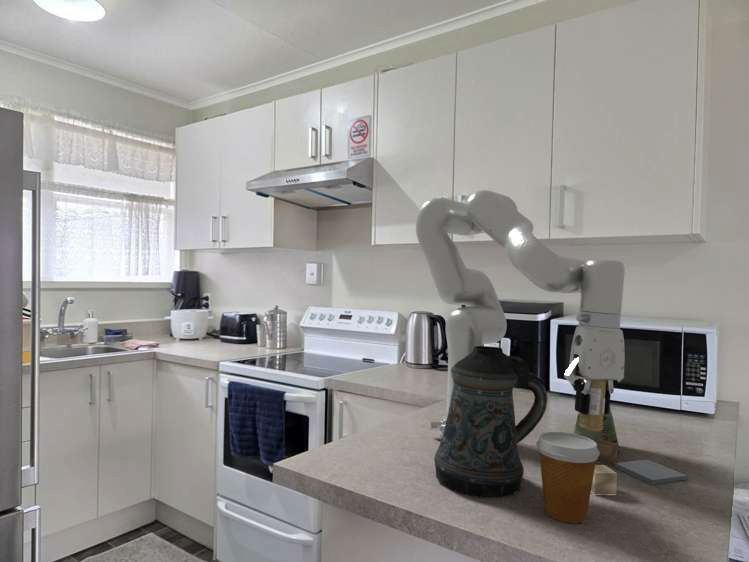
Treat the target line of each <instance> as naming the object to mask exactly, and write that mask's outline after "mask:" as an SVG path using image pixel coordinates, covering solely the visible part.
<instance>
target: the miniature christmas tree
mask: <svg viewBox="0 0 749 562" xmlns="http://www.w3.org/2000/svg"><path fill="white" fill-rule="evenodd" d="M579 421H580V412H578V414H577V419H576V421H575V426H574V430H573V434H576V435H580V436H584V437H587V438H589V439H591V440H593V441H594V440H597V439H602V440H605V441H609V442H613V443H617V453H619V451H620V445H619V440H618V437H617V431H616V426H615V422H614V417H613V413H612V409H611V407H610V408H609V413H608V414H605V413H604V415H603V430H601V431H591V430H586V429H584V428H581V427H580V426H579Z"/></svg>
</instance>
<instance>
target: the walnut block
mask: <svg viewBox="0 0 749 562" xmlns="http://www.w3.org/2000/svg"><path fill="white" fill-rule="evenodd" d="M594 441H595V442H596V444H597V449H598V450H599V452H600V454H599V456H598V459H597V460H596V463H597V462H599V463H598V464H601V463H602V464H601V465H604V464H605V466H607V465H608V466H612V465H614V464H615V462H616V463H618V452H617V443H613V442H609V441H605V440H602V439H597V440H594ZM613 463H614V464H613ZM611 464H612V465H611ZM608 466H607V467H608Z"/></svg>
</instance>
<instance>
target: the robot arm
mask: <svg viewBox="0 0 749 562" xmlns="http://www.w3.org/2000/svg"><path fill="white" fill-rule="evenodd" d="M415 221H416V222H415V232H416V237H417V240H418V244H419V246H420V247H421V250H422V252H423V255H424V257H425V259H426V261H427V265H428V268H429V271H430V273H431V276H432V279H433V282H434V285H435V288H436V290H437V293H438V295H439V297H440V299H441V300H442V302H444V304H445V303H446V304H448V305H455V306H460V305H461V307H458V308H456V309H454V310H453V311H451V312H450V314H449V315H448V317H447V319H446V322H445V326H444V327H445V337H446V342H447V344H446V345H447V358H448V359H447V386H446V387H447V388H446V389H447V391H446V392H447V393H446V413H445V414H444V415H442V418H440V419H439V420H428V421H427V428H428V430H437V431H438V432H439V433H438V434H439V435H440V436H441V437H442V436H443V433H444V430H445V425H446V421H447V416H448V411H449V406H450V400H451V395H452V390H453V384H454V382H453V379H452V374H451V369H452V367H453V366H454V365H455V364H456V363H457V362H458V361H460V360H462V359H463V358H465V357H466V356H468V355H469V354H470V353H472V352H473V349H474V347H475V346H485V345H491V344H495V343H498V342H500V341H501V340H502V339H503V338H504V337H505V335H506V332H507V327H508V324H507V318H506V315H505V312H504V310H503V307H502V305H501V303H500V302H501V301H500V300H499V297H498V295H497V293H496V289H495V288H494V286H493V283H492V281H491V279H490V278H489V277H488V275H487V274H485V273H484V272H483V271H480V270H479V269H475V268H468V267H467V266H466V265H465V263H464V261H463V259H462V256H461V254H460V251H459V249H458V247H457V245H456V243H455V242H454V241H453V240H452V239H451V237H450V235H449V234H453V235H457V236H458V235H459V236H471V235H479V234H483V233H485V234H486V235H487V236H488V237H489V238H490V239H492V240H493V241H495V243H497V244H498V246H499V247H501V248H502V249H503V250H504V252H505V254H506V256H507V258H508V259H509V260H510V262H511V264H512V265H513V266H514V267H515V268H516V270H517V271H519V272H520V274H522V275H523V276H524V277H526V278H527V279H528V280H529V281H530V282H532V284H534V285H535V286H536V287H537V288H539V289H540V290H542V291H544V292H548V293H561V294H580V303H579V313H578V314H577V315H576V318H575V319H576V321H577V322H578V326H576V327H575V330H574V334H573V338H572V341H571V342H572V343H571V347H570V348H571V349H570V356H569V365H568V368H567V369H566V370H565V373H564V375H563V378H564V379H566V380H567V381H568V383H569V384H570V385H571V386H572V389H573V391H574V392H575V399H574V400H575V402H574V411H576V412H578V413H579V412H580V413H582V414H585V415H588V414H589V406H590V395H589V394H587V393H588V391H589V387H590V383H591V380H606V389H605V408H604V413H605V414H608V413H609V408H610V409H611V395H612V394H614V390H615V388H616V387H617V385H618V384H619V383H620V382H622V380H623V379H624V378H625V361H626V360H625V359H626V358H625V354H626V353H625V339H624V332H623V330H622V329H621V319H622V318H621V316H622V306H623V305H622V304H623V293H624V284H625V283H624V281H625V269H626V268H625V265H624V263H623V262H622V261H620V260H615V259H603V258H592V259H588V260H585V259H580V258H574V257H568V256H563V255H558V254H556V253H555V252H554V251H552V250H551V249H550V248H549V247H547V246H546V245H545V244H544V243H543V242H541V240H539V239H538V238H537V237H536V236H535V235H534V233H533V232H534V224H533V222H532V221H531V220H530V219H529V218H528V217H526V216H525V215H524V214H522V213H521V212H520V211H519V209H518V206H517V203H515V201H514V200H513V199H512V198H511V197H509V196H507V195H504V194H501V193H499V192H494V191H492V190H486V189H485V190H477V191H476V192H474V193H472V194H471V195H470V196H469V197H468V199H467V201H466V203H465V202H460V201H458V200H453V199H449V198H443V197H436V198H431V199H429V200H427V201H425V202H424V203H423V205H422V206H421V207H420V209H419V210H418V214H417V216H416V220H415ZM583 376H584V377H583ZM583 380H584V383H583Z"/></svg>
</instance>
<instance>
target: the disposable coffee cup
mask: <svg viewBox="0 0 749 562" xmlns="http://www.w3.org/2000/svg"><path fill="white" fill-rule="evenodd" d="M535 445H536V447H537V450H538V453H539V461H540V473H541V474H540V475H541V483H542V495H543V503H544V504H543V505H544V512H545V514H546V516H549V518H552V519H554V520H556V519H557V521H558V520H559V522H562V521H564V522H563V523H566V522H570V523H569V524H580V523H579V522H582V523H584V522H585V521H586V520H587V518H586V517H587V516H588V510H589V504H590V498H591V494H592V493H591V487H592V481H593V476H594V469H595V465H597V464H596V463H597V462H596V460H597V459H598V456H599V454H600V452H599V450H598V449H597V444H596V442H595V441H593V440H591V439H589V438H587V437H584V436H580V435H576V434H574V433H571V432H570V433H569V432H564V431H563V432H561V431H549V432H548V431H547V432H542V433H541V434H540V435H539V438H538V440H537V441H536V444H535ZM584 520H585V521H584ZM583 521H584V522H583Z"/></svg>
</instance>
